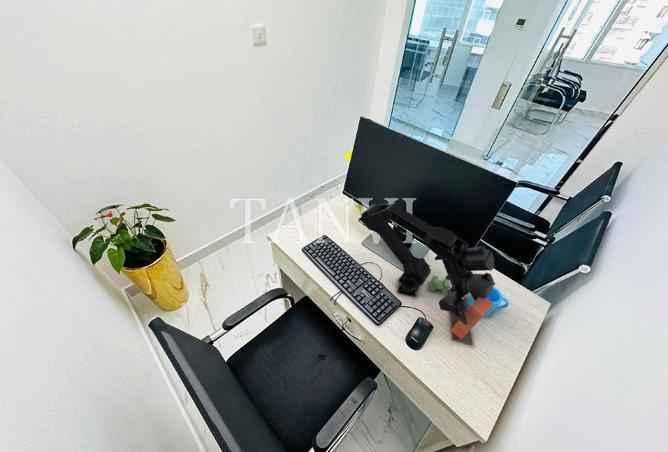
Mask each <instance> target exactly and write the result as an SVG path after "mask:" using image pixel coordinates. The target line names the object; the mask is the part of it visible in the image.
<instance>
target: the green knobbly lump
mask: <svg viewBox="0 0 668 452" xmlns="http://www.w3.org/2000/svg"><path fill="white" fill-rule="evenodd" d="M450 288H451V282H450V280H446V278H443V280H440V279H439V276H436V275H433V276H432V277H431V279H430V282H429V291H430V292H433V293H434V292H436V290H439V292H440V294H443V295H447V293H448V290H450Z"/></svg>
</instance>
